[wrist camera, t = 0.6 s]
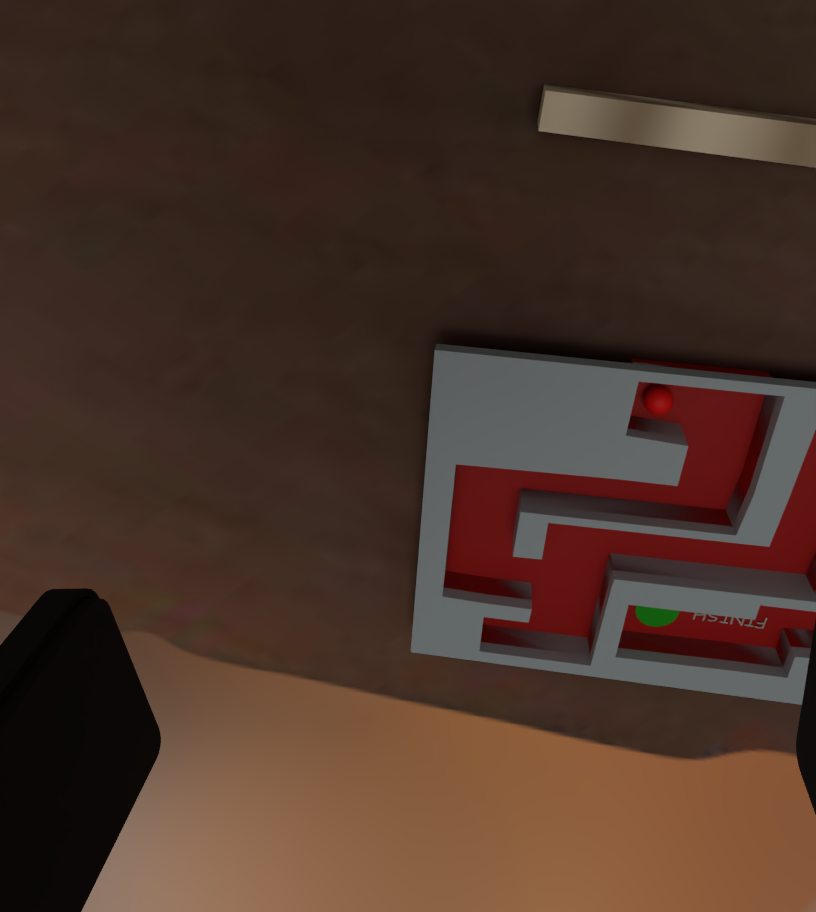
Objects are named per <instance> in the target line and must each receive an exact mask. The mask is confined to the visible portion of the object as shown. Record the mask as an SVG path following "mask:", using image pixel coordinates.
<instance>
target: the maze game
mask: <svg viewBox="0 0 816 912" xmlns="http://www.w3.org/2000/svg"><path fill="white" fill-rule="evenodd" d="M815 619H816V382H810V381H800V380H790V379H780V378H772V377H771V375H770V374H769V372H764V371H754V370H744V369H734V368H724V367H714V366H704V365H694V364H684V363H674V362H665V361H655V360H645V359H635V358H631V363H623V362H613V361H603V360H593V359H583V358H574V357H564V356H554V355H544V354H534V353H524V352H515V351H505V350H495V349H485V348H475V347H465V346H455V345H446V344H436V347H435V352H434V365H433V378H432V390H431V403H430V416H429V428H428V441H427V454H426V466H425V479H424V491H423V504H422V517H421V529H420V542H419V555H418V567H417V580H416V593H415V605H414V618H413V631H412V643H411V652H414V653H422V654H429V655H437V656H444V657H452V658H459V659H466V660H474V661H481V662H489V663H496V664H504V665H511V666H518V667H526V668H533V669H541V670H548V671H555V672H563V673H570V674H578V675H585V676H593V677H600V678H607V679H615V680H622V681H630V682H637V683H645V684H652V685H659V686H667V687H674V688H682V689H689V690H696V691H704V692H711V693H719V694H726V695H734V696H741V697H748V698H756V699H763V700H771V701H778V702H786V703H793V704H800V705H802V701H803V695H804V689H805V682H806V676H807V670H808V663H809V657H810V651H811V644H812V638H813V632H814V625H815Z"/></svg>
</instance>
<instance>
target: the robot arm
mask: <svg viewBox="0 0 816 912" xmlns="http://www.w3.org/2000/svg"><path fill="white" fill-rule="evenodd" d="M160 743H161V737H160V731H159V728H158V725H157V722H156V720H155V717H154V715H153V713H152V710H151V708H150V705H149V703H148V700H147V698H146V695H145V693H144V690H143V688H142V685H141V683H140V680H139V678H138V675H137V673H136V670H135V668H134V666H133V663H132V661H131V658H130V656H129V653H128V651H127V648H126V646H125V643H124V641H123V638H122V636H121V633H120V631H119V628H118V626H117V623H116V621H115V618H114V616H113V613H112V611H111V608H110V606H109V604H108V603H107V602H106V601H105V600H104V599H99V597H98V595H97V593H95V592H94V591H93V590H92V589H52V590H49V591H46V592H45V593H44V594H43V595H42V596H41V597H40V598H39V599H38V600H37V602H36V603H35V604H34V605H33V606H32V608H31V609H30V610H29V611H28V613H27V614H26V615H25V616H24V617H23V619H22V620H21V621H20V622H19V623H18V625H17V626H16V627H15V628H14V629H13V631H12V632H11V633H10V634H9V636H8V637H7V638H6V639H5V640H4V642H3V643H2V644H1V645H0V912H81V911H82V909H83V907H84V905H85V902H86V900H87V899H88V897H89V895H90V893H91V890H92V888H93V887H94V884H95V882H96V880H97V878H98V876H99V874H100V872H101V870H102V868H103V866H104V864H105V862H106V860H107V858H108V856H109V854H110V852H111V850H112V848H113V846H114V844H115V842H116V840H117V838H118V836H119V833H120V832H121V830H122V828H123V826H124V824H125V821H126V820H127V817H128V815H129V814H130V812H131V809H132V807H133V805H134V803H135V801H136V799H137V797H138V795H139V793H140V791H141V789H142V787H143V785H144V783H145V781H146V779H147V777H148V775H149V773H150V771H151V769H152V767H153V765H154V763H155V761H156V759H157V756H158V754H159V750H160ZM796 752H797V759H798V764H799V768H800V772H801V775H802V778H803V780H804V783H805V786H806V789H807V792H808V794H809V797H810V800H811V803H812V806H813V808H814V811H815V814H816V619H815V625H814V632H813V638H812V644H811V651H810V657H809V663H808V670H807V676H806V682H805V689H804V695H803V701H802V708H801V714H800V720H799V727H798V733H797V740H796Z"/></svg>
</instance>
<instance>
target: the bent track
mask: <svg viewBox="0 0 816 912" xmlns="http://www.w3.org/2000/svg"><path fill="white" fill-rule="evenodd" d="M537 123H538V131H542V132H550V133H557V134H565V135H572V136H580V137H588V138H595V139H603V140H610V141H618V142H626V143H633V144H641V145H648V146H656V147H663V148H671V149H679V150H686V151H694V152H701V153H709V154H717V155H724V156H732V157H739V158H747V159H755V160H762V161H770V162H777V163H785V164H793V165H800V166H808V167H815V168H816V119H813V118H806V117H798V116H790V115H782V114H774V113H767V112H759V111H751V110H743V109H735V108H728V107H720V106H712V105H704V104H697V103H689V102H681V101H673V100H665V99H658V98H650V97H642V96H634V95H626V94H619V93H611V92H603V91H595V90H587V89H580V88H572V87H564V86H556V85H548V84H544V86H543V92H542V98H541V103H540V109H539V115H538V120H537Z"/></svg>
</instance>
